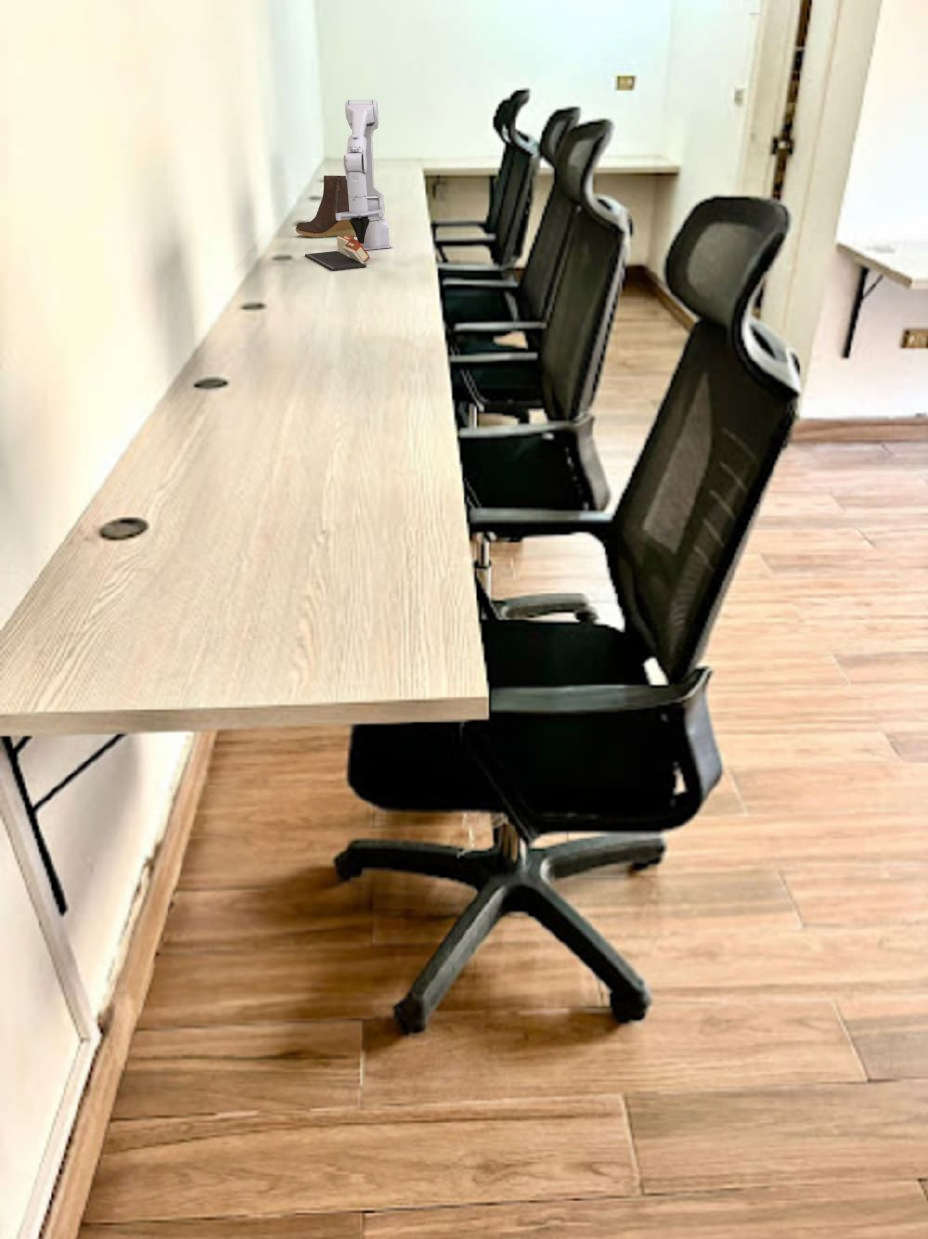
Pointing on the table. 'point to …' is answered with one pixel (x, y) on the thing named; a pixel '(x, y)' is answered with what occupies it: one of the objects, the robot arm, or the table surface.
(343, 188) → the boot
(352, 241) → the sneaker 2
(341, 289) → the table surface
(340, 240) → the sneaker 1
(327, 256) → the shoe mat
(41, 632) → the table surface
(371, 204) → the robot arm
